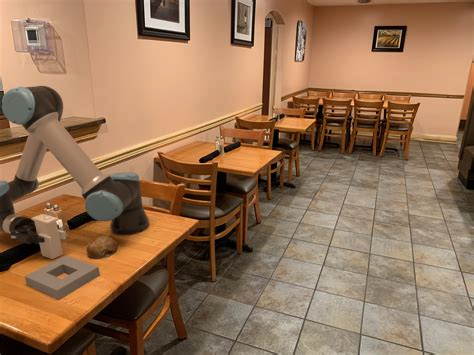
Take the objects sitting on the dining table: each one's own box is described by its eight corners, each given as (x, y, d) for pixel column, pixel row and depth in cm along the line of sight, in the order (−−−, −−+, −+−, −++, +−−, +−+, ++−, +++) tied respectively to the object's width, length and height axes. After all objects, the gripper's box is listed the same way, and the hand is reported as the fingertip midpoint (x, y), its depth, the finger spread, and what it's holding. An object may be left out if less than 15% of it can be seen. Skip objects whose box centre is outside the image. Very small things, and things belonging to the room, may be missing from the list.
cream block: (50, 249, 128) (42, 211, 124) (65, 255, 124) (57, 215, 120) (39, 254, 125) (30, 215, 121) (55, 260, 121) (46, 220, 116)
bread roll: (97, 270, 121) (100, 253, 117) (78, 252, 125) (81, 235, 121) (120, 257, 129) (124, 241, 125) (102, 240, 133) (105, 225, 129)
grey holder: (67, 263, 119) (66, 255, 118) (99, 275, 111) (98, 266, 110) (26, 284, 108) (24, 276, 107) (58, 299, 100) (57, 290, 99)
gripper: (43, 226, 139) (81, 238, 128) (-3, 245, 125) (35, 259, 114) (39, 208, 137) (78, 218, 126) (-8, 225, 123) (30, 238, 112)
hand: (57, 238), depth 120 cm, fingers closed on cream block, 4 cm apart
